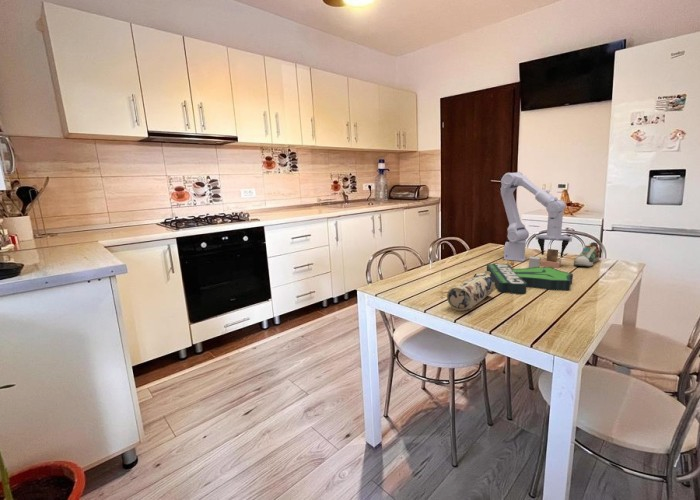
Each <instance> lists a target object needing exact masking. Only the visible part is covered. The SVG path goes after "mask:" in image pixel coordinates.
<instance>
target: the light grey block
mask: <svg viewBox="0 0 700 500" xmlns="http://www.w3.org/2000/svg"><path fill="white" fill-rule="evenodd" d="M528 259H529V261H528V268H533V267H541V256H540V257H539V256H530V257H529V258H528Z"/></svg>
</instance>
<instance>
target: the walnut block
mask: <svg viewBox="0 0 700 500" xmlns="http://www.w3.org/2000/svg"><path fill="white" fill-rule="evenodd" d="M558 255H559V249H552V248H551V249H549V248H548V249H547V251H546V258H547V261H551V262H557V259H559V258H558V257H559V256H558Z"/></svg>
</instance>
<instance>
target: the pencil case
mask: <svg viewBox="0 0 700 500" xmlns="http://www.w3.org/2000/svg"><path fill="white" fill-rule="evenodd" d="M490 274H491V272H489V271H487V270H484V272H480V273H475V274H474V276H473V278H469V279H468V280H465V281H464V282H462V283H460V284H459V285H455V286H452V287H450V288H449V289H448V291H447V294H446V299H447V302H448V304H449V306H450V307H451V308H452V309H453V310H455V311H467V310H470V309H472V308H473V307H475V306H476V305H478V304H479V303H480V302H481V301H482V300H484V299H485V298H486V297H487V296H490V295H491V294H492V293H493V291H494V290H495V287H496V286H495V282H494V280H493V279H492V278H491V277H490Z"/></svg>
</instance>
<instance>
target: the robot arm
mask: <svg viewBox="0 0 700 500" xmlns="http://www.w3.org/2000/svg"><path fill="white" fill-rule="evenodd" d="M500 183H501V187H500V196H501V199H502V202H503V206H504V209H505V213H506V217H507V222H508V227H507V229H506V230H507V235H506V237H507V240H508V241H505V244H504V248H503V249H504V253H503V260H505V261H515V262H525V261H526V259H527V257H526V256H525V255H526V254H525V253H526V242H527V240H528V239H529V237H530V233H529V231H528V229H527V228H526V226H525V224H524V223H523V222H522V220H521V217H520V214H519V211H518V210H519V209H518V207H517V202H516V200H515V194H514V192H515V190H516V189H517V188H518V187H523V188H524V189H526V190H527V191H528V192H529V193H532V195H534V198H535V200H536V201H537V202H538V203H540V204H541V205H542V206H544V207H545V209H546V212H547V213H548V214H547V216H548V217H547V228H546V234H536V235H535V240H537V242H538V246H539V247H540V253H541V256H543V255H544V254H545V240H548V241H560V242H561V250H560V257H563V256H564V255H563V254H564V252H565V249H566V248H567V246H568V245H569V243H570V242H572V241H573V237H572V236H568V235H567V236H565V235H562V227H563V219H564V218H563V217H564V211H565V210H566V208H567V204H566V202H565V201H564V200H562V199H559V198H558V197H557V196H554V195H553V194H551V193H550V190H548V189H540V187H538V186H537V185H536V184H535V183H534V182H533V181H532V180H531V179H529V177H527V175H524V174H523V173H522V172H520V171H517V172H506V173H505V174H504V175H503V176H502V178H501V179H500Z"/></svg>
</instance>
